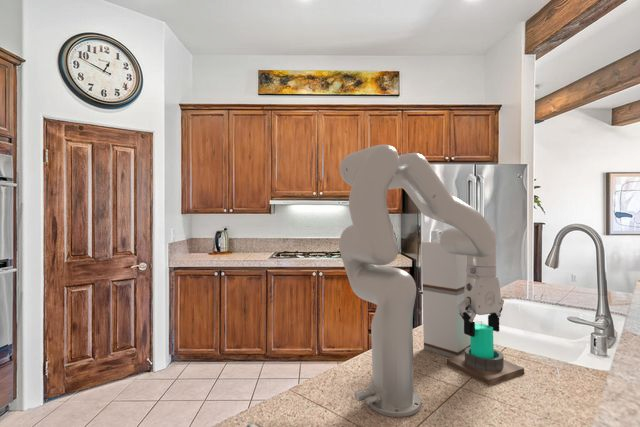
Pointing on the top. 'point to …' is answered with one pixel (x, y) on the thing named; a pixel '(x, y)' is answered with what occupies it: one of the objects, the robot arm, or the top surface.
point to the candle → (482, 342)
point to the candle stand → (485, 367)
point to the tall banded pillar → (443, 300)
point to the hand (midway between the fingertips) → (481, 332)
